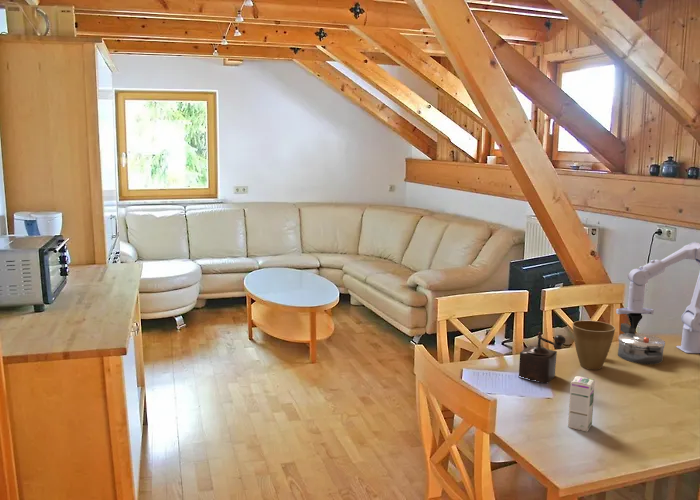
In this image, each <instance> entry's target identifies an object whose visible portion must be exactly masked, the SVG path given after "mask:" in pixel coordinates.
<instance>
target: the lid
mask: <svg viewBox="0 0 700 500" xmlns="http://www.w3.org/2000/svg"><path fill="white" fill-rule="evenodd" d="M620 331H621V332H622V333H620V334H619V335H618V342H619V341H620V342H622V343H624V344H626V345H629V346H633V347H638V348H646V349H648V350H650V351H660V350H661V348H662V347H664V348H665V346H666V341H665V340H664V339H663V338H660V337H658V336H654V335H652V334H647V333H641V332H640V333H639V332H637V333H636V332H635V328H634V327H632V326H631V324H628V323H627V322H624V323H623V322H622V323H620Z"/></svg>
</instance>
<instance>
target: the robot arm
mask: <svg viewBox="0 0 700 500" xmlns="http://www.w3.org/2000/svg"><path fill="white" fill-rule="evenodd" d="M683 260H691V261H692V260H693V261H695V262H696V263H697V264H698V265H699V266H700V242H698V241H692V242H690V243H689V244H684V246H682V247H681V248H680V249H678V250H676V251H674V252H673V253H671V254H669V255H667V256H666V257H664V258H662V259H651V260H649V262H647V263H646V264H644V265H640V266H639V267H638V268H633V269H631V270H630V272H629V273H628V274H627V277H628V278H627V279H628V280H629V288H628V297H627V298H628V299H627V307H622V308H616V310H615V311H616V312H615V314H617V315H627V318H628V319H629V323H630V324H629V325H630V326H632V327H634V328H635V333H636V331H637V326H638V325H639V323H640V322H641V320H642V319H643V315H654V310H655V309H653V308H647V307H644V301H645V291H646V284H647V283H648V282H649V280H650V279H653V278H654V277H656V276H659V275H660V274H662V273H664V272H665V270H666V268H668V267H670V266H672V265H674V264H677V263H679V262H682V261H683ZM680 321H681V322H682V324H683V326H682V334H681V343H680V345H676V346H675V347H676V348H677V349H678V350H681V351H682V352H684V353H685V354H700V271H699V273H698V276H697V280H696V283H695V286H694V289H693V293H692V297H691V300H690V304H688V305H687V306H686V308H685V310H684V312H683V313H682V314H681V316H680Z"/></svg>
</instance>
